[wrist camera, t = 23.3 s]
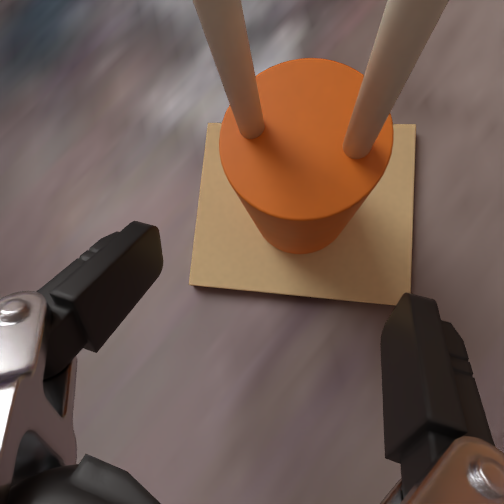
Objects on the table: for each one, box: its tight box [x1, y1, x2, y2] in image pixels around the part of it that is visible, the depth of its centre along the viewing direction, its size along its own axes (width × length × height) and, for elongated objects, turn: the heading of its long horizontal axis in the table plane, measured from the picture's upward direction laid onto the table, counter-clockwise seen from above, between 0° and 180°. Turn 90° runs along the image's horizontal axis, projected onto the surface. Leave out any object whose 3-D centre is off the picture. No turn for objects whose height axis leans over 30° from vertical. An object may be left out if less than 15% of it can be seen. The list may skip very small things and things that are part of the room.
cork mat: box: [189, 123, 416, 305], centre depth 17 cm, size 12×10×1 cm
